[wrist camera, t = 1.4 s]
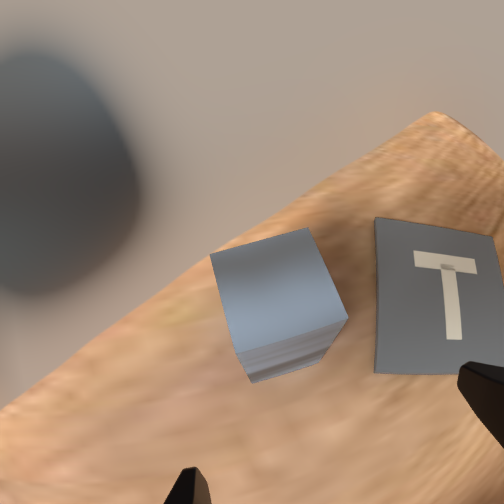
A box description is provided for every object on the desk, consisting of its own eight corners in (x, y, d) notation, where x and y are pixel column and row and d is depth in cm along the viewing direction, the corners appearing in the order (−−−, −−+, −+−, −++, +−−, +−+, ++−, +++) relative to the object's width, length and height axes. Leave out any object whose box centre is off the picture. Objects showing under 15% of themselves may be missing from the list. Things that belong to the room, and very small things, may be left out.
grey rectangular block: (318, 362, 21) (348, 317, 13) (252, 383, 21) (235, 353, 12) (296, 303, 24) (308, 227, 15) (234, 321, 23) (209, 254, 15)
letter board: (508, 371, 18) (512, 369, 18) (373, 373, 20) (376, 371, 20) (489, 240, 25) (492, 236, 25) (374, 221, 27) (375, 216, 27)
